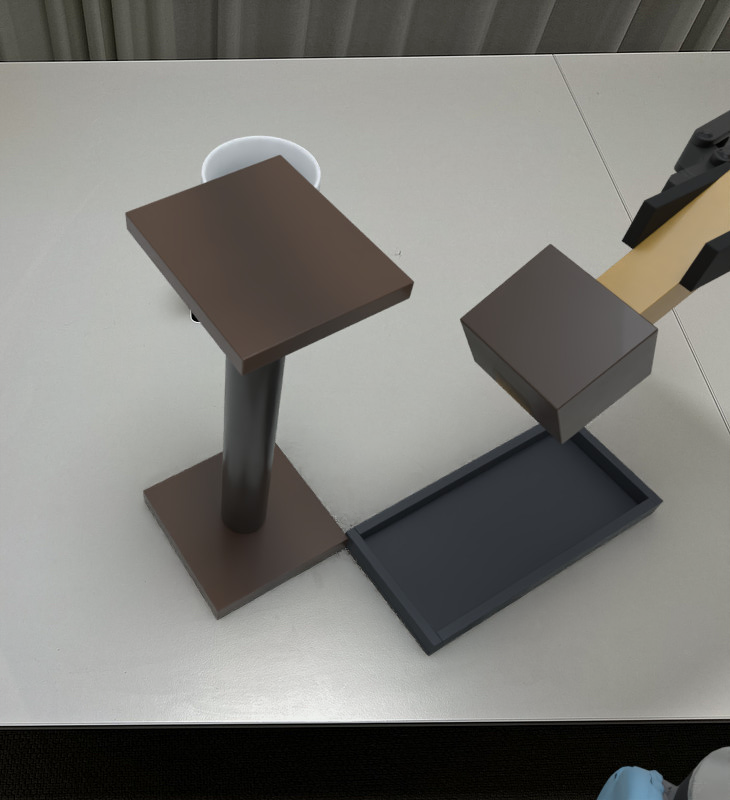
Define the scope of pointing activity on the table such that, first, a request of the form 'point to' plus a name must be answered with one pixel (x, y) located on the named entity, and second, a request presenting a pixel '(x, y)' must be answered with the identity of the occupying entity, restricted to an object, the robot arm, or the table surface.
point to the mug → (258, 157)
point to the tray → (496, 530)
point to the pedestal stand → (257, 363)
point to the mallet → (589, 319)
